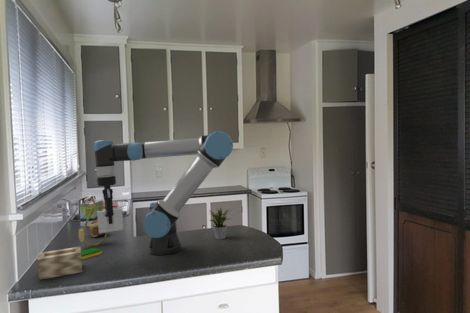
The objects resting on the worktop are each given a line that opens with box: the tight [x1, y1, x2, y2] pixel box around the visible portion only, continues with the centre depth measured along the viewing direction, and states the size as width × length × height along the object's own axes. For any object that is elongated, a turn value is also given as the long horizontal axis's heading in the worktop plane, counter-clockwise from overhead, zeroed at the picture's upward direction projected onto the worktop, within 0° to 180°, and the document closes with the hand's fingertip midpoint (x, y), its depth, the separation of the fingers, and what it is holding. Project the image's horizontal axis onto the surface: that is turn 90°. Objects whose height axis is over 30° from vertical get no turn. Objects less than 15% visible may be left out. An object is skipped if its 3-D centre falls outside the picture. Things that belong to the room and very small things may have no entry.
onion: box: [89, 221, 105, 238], centre depth 208 cm, size 10×9×10 cm
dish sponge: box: [81, 247, 103, 261], centre depth 170 cm, size 7×14×2 cm, turn 141°
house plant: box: [208, 207, 232, 240], centre depth 187 cm, size 14×14×16 cm
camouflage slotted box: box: [37, 245, 83, 281], centre depth 150 cm, size 16×10×8 cm
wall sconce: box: [78, 197, 108, 247], centre depth 187 cm, size 14×10×25 cm
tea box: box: [79, 199, 104, 227], centre depth 243 cm, size 15×10×15 cm, turn 179°
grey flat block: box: [97, 207, 125, 233], centre depth 157 cm, size 10×3×9 cm, turn 114°
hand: (110, 230), depth 157 cm, fingers closed on grey flat block, 3 cm apart
